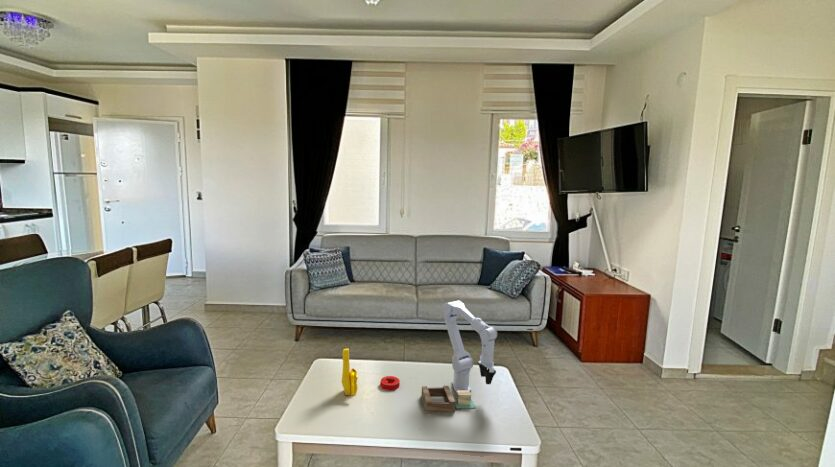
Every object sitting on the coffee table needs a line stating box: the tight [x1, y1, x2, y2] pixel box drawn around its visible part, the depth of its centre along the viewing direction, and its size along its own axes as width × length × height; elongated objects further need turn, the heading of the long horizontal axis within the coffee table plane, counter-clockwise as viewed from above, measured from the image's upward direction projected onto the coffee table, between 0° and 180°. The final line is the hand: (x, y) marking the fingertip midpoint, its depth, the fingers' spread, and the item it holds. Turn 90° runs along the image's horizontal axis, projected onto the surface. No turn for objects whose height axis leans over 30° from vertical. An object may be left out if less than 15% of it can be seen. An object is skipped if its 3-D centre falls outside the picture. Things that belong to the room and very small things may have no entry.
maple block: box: [455, 390, 472, 405], centre depth 197 cm, size 4×6×5 cm, turn 97°
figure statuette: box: [341, 348, 359, 397], centre depth 201 cm, size 18×8×22 cm, turn 7°
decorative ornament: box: [380, 375, 401, 391], centre depth 211 cm, size 10×10×3 cm
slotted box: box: [421, 385, 456, 414], centre depth 196 cm, size 15×13×5 cm
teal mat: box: [454, 397, 477, 410], centre depth 197 cm, size 9×9×1 cm
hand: (485, 380), depth 199 cm, fingers open, 7 cm apart
